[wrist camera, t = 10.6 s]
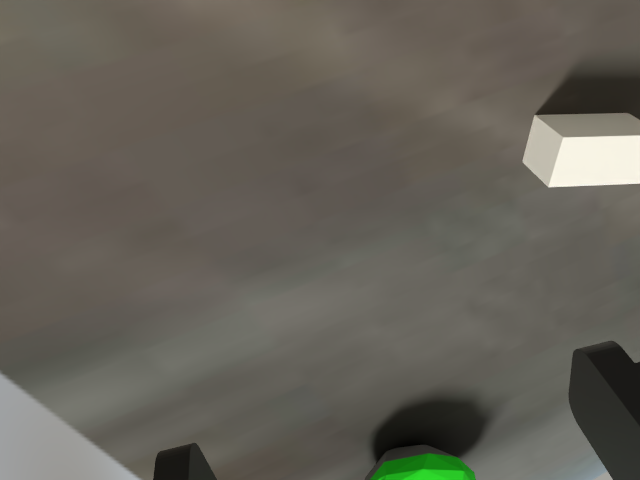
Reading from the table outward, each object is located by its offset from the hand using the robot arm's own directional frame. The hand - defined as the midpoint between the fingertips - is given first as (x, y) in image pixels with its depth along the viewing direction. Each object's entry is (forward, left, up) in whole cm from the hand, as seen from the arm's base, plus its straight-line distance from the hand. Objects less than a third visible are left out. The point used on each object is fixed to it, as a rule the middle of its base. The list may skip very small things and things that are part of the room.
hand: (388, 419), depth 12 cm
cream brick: (+10, +19, -26) cm, 34 cm away
